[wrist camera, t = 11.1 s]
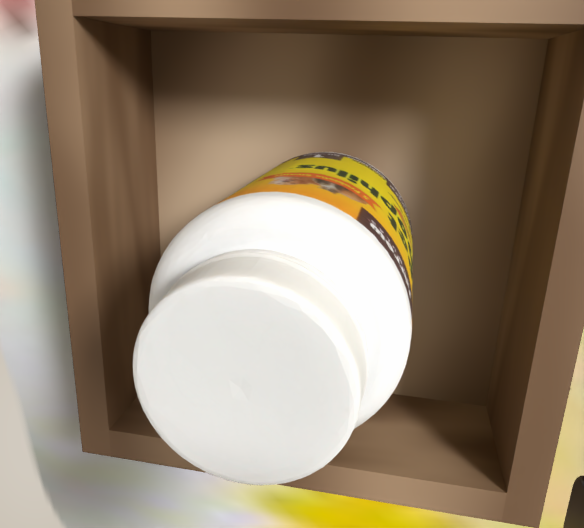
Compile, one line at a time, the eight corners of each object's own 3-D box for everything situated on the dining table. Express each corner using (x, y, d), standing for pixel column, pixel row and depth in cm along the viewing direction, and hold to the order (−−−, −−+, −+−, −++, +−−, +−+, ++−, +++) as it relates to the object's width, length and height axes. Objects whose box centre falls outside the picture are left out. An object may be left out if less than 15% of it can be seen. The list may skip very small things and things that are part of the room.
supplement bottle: (449, 227, 18) (493, 400, 8) (335, 337, 20) (264, 578, 10) (319, 110, 17) (210, 148, 8) (216, 234, 19) (31, 384, 10)
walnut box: (587, 3, 16) (662, -30, 11) (508, 424, 20) (538, 528, 16) (128, -2, 18) (31, -30, 13) (149, 375, 23) (82, 451, 18)
